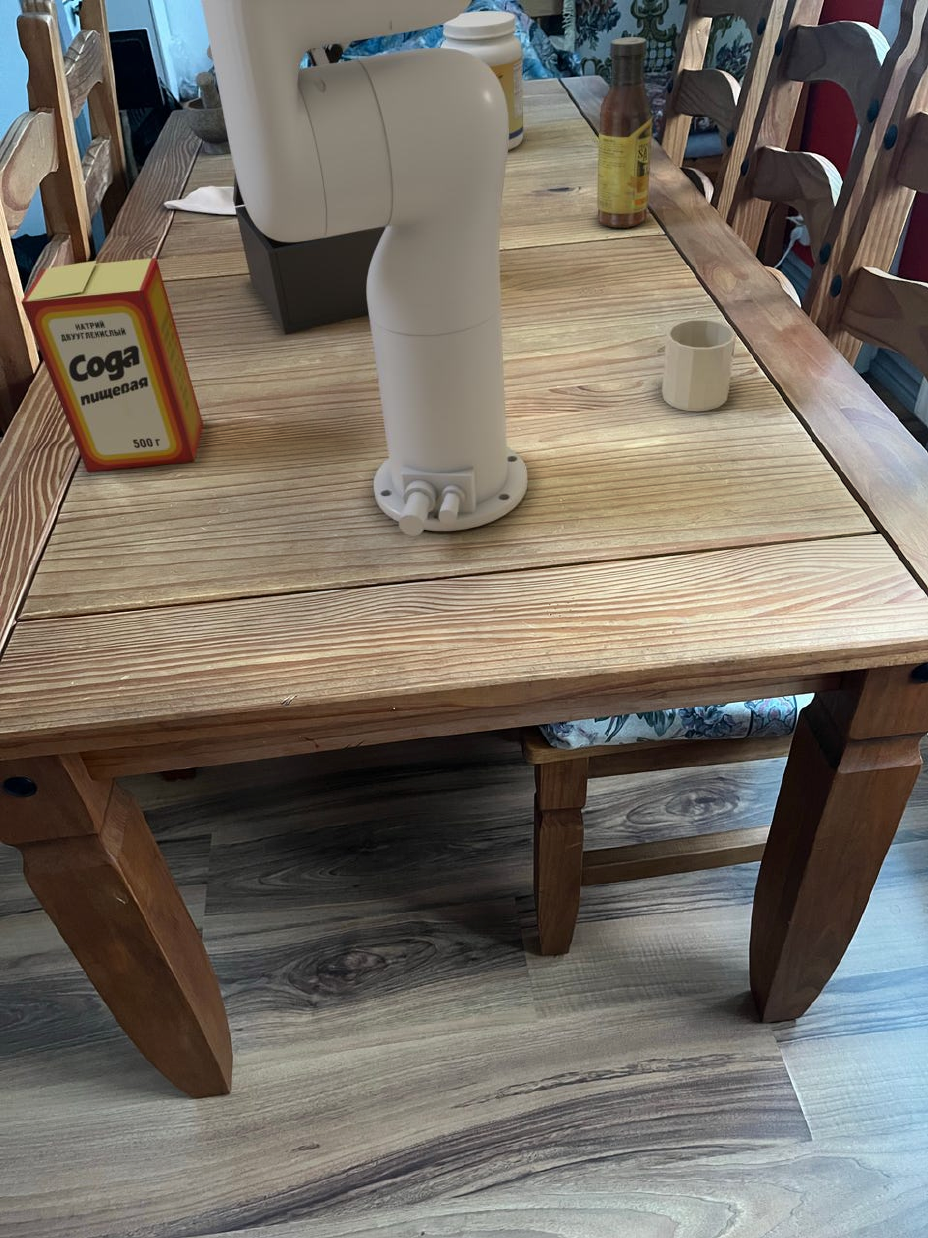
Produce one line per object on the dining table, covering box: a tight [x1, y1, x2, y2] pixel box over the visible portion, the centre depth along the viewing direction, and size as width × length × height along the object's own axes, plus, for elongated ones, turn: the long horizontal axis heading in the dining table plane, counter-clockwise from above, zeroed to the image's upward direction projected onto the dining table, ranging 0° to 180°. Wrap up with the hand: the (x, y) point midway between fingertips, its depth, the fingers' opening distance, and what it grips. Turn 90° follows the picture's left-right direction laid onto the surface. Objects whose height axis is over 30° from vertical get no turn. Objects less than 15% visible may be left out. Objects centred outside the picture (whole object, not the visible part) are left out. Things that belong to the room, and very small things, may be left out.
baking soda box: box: [20, 257, 204, 473], centre depth 82 cm, size 10×6×16 cm
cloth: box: [162, 185, 245, 216], centre depth 136 cm, size 26×14×2 cm, turn 91°
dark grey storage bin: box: [235, 206, 386, 335], centre depth 107 cm, size 16×14×9 cm
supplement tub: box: [439, 10, 525, 151], centre depth 143 cm, size 12×12×17 cm
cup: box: [661, 318, 737, 412], centre depth 86 cm, size 6×6×6 cm
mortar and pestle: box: [183, 71, 231, 155], centre depth 152 cm, size 11×9×12 cm
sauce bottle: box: [596, 36, 654, 229], centre depth 115 cm, size 7×6×20 cm
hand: (296, 123), depth 98 cm, fingers closed on compartment lid, 5 cm apart
